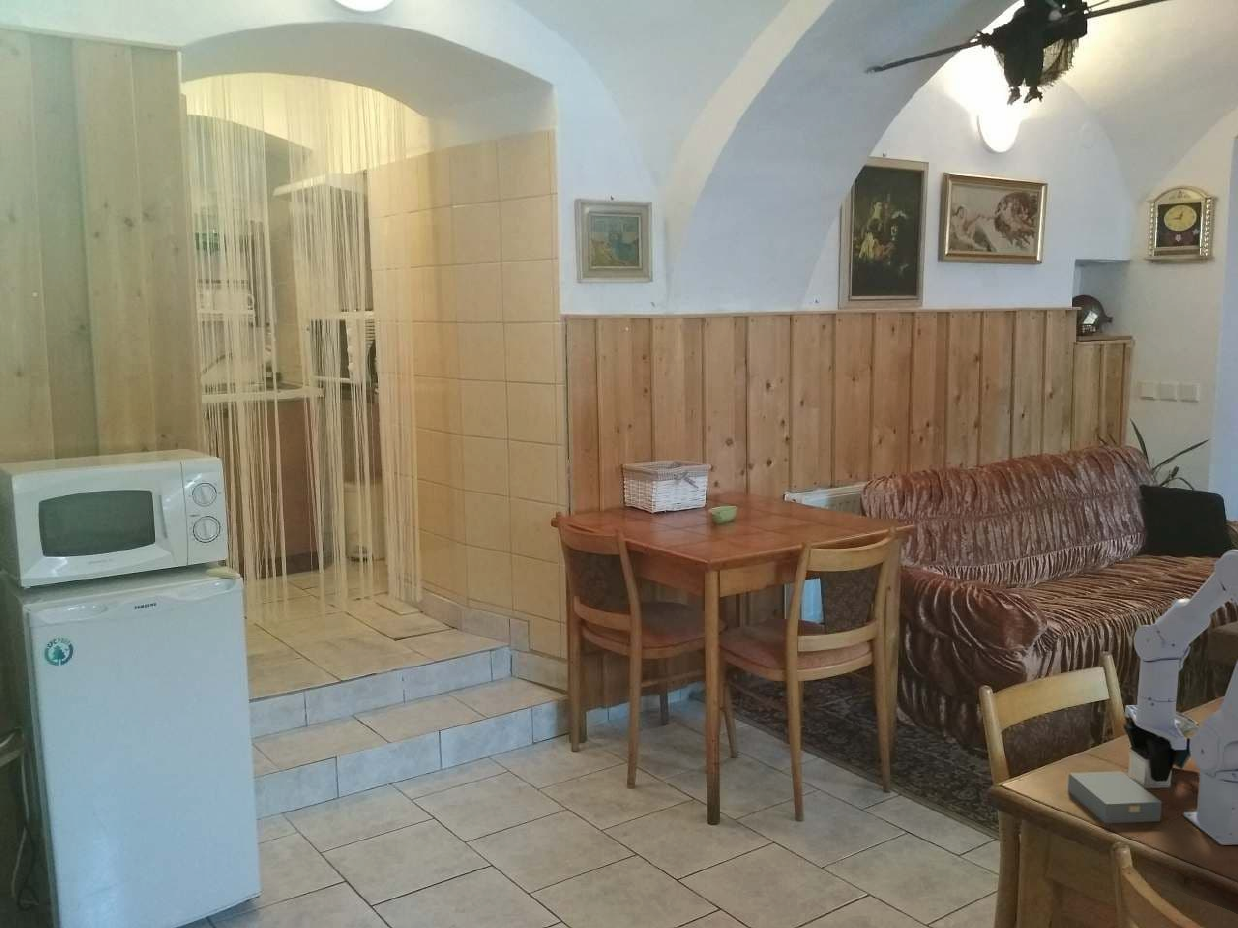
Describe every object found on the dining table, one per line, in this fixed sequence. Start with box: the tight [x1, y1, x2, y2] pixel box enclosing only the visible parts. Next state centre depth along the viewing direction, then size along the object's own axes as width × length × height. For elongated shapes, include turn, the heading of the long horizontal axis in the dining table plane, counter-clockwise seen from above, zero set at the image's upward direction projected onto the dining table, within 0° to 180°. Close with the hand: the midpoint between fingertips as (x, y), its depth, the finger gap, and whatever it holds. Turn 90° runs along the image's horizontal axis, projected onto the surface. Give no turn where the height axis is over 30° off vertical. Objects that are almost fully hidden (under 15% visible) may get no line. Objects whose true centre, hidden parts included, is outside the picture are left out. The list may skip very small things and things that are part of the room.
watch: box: [1156, 710, 1201, 770], centre depth 177 cm, size 6×8×11 cm
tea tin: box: [1127, 747, 1173, 789], centre depth 174 cm, size 5×5×5 cm
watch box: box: [1067, 770, 1163, 824], centre depth 165 cm, size 11×9×4 cm
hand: (1150, 773), depth 174 cm, fingers closed on tea tin, 5 cm apart
